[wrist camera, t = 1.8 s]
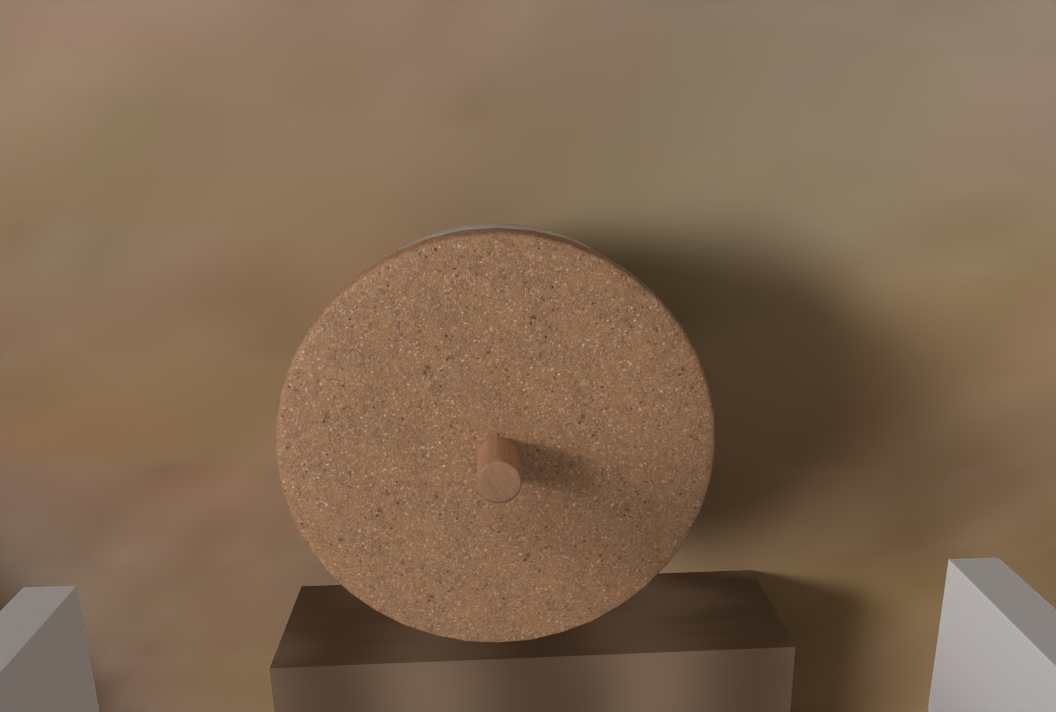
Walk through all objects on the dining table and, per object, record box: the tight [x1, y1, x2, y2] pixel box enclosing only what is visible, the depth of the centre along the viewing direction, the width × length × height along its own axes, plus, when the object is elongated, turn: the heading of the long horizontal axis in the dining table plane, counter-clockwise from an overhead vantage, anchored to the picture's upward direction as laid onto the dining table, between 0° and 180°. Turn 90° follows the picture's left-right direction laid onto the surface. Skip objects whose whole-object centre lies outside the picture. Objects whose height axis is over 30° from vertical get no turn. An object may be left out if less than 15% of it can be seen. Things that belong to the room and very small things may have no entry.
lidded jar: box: [276, 223, 715, 642], centre depth 24 cm, size 11×11×9 cm
